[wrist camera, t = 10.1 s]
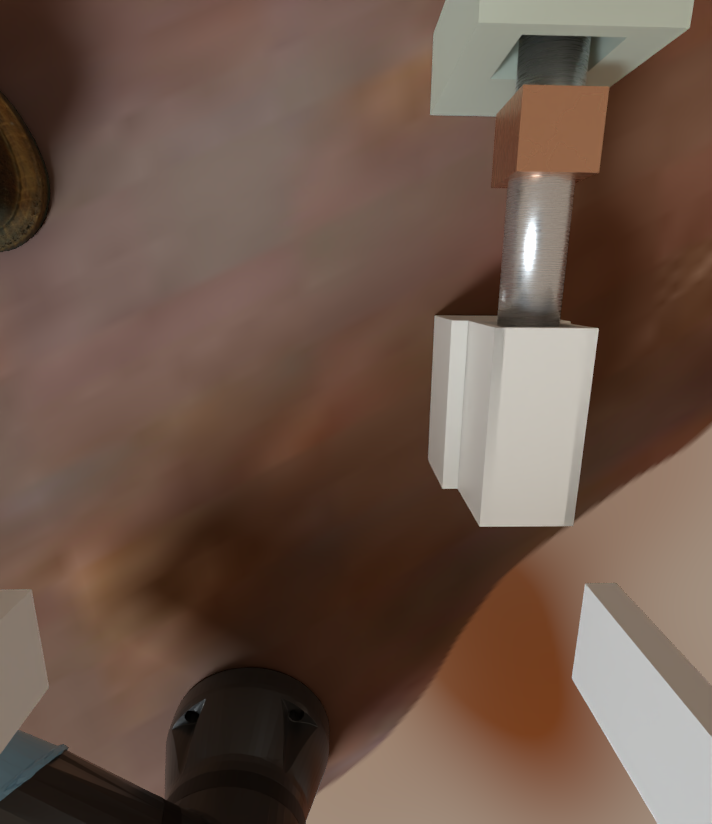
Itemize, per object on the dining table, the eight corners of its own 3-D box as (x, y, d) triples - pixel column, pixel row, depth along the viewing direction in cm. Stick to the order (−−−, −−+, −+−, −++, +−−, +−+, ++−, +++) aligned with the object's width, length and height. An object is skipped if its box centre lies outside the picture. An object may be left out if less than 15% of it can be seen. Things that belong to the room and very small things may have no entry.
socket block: (568, 117, 35) (689, 28, 23) (430, 115, 35) (478, 22, 23) (576, 37, 34) (709, -104, 22) (433, 33, 34) (486, -111, 21)
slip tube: (545, 351, 32) (576, 362, 28) (479, 351, 32) (500, 361, 28) (580, 17, 28) (623, -32, 23) (503, 15, 28) (533, -35, 23)
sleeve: (521, 459, 42) (590, 525, 30) (427, 459, 41) (461, 526, 30) (535, 316, 39) (618, 328, 27) (434, 315, 38) (475, 327, 27)
